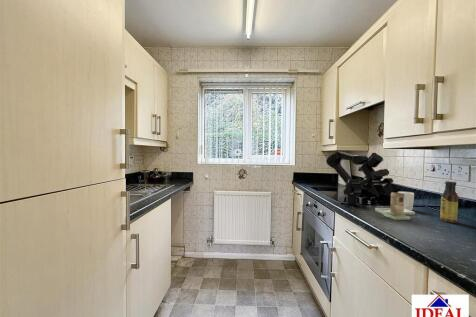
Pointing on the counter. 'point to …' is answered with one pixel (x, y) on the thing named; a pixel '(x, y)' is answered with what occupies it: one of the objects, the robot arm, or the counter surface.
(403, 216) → the tray green
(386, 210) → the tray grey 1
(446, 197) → the sauce bottle
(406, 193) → the white cup
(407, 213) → the grey tray
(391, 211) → the letter block
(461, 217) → the counter surface
